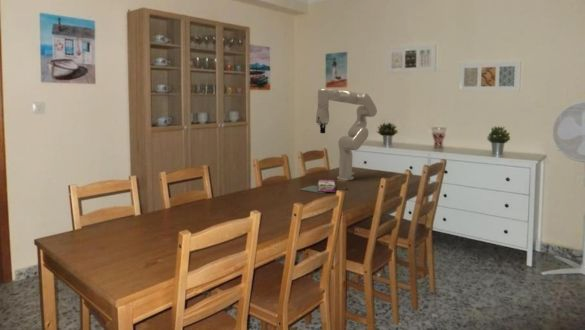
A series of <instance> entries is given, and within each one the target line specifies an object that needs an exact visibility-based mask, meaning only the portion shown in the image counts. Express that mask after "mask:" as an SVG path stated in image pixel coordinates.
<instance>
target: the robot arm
mask: <svg viewBox="0 0 585 330" xmlns="http://www.w3.org/2000/svg"><path fill="white" fill-rule="evenodd" d="M329 101H330V102H331V101H333V102H338V103H345V104H350V105H357V108H356V120H355V122H354V123H353V124H352V126H351V127H350V128H349V129H348V132H347V135H343V136H341V137H340V138H339V139H338V141H337V143H338V150H339V151H338V152H339V157H338V158H339V161H338V162H339V167H338V169H339V170H338V174H339V175H338V176H336V179H337V180H338V179H343V180H347V181H351V180H354V179H355V177H354V176H353V175H355V172H354V171H353V152H352V151H358V150H360V148H361V147H362V145H364V143H365V142H366V140H367V139H368V137H369V129H368V128H367V124H368V122H367V118H369V117H370V118H373V117H375V116H376V115H377V114H378V113H377V112H378V110H377V106H376V104H375V103H374V101H373V98H372V97H371V96H370V95H369V94H368V93H364V92H363V93H361V92H355V91H354V92H353V91H349V90H338V89H337V88H318V90H317V109H316V115H315V117H316V118H315V122H316V124H317V125H318V126H319V128H320V129H319V132H320V134H326V128H327V125H328V123H329V122H330V113H329V112H330V111H329V108H330V107H329V105H330V103H329Z"/></svg>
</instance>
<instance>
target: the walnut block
mask: <svg viewBox="0 0 585 330" xmlns="http://www.w3.org/2000/svg"><path fill="white" fill-rule="evenodd" d="M347 189H348V180H343V179H337V180H335V191H336V190H337V191H338V190H339V191H346V190H347Z"/></svg>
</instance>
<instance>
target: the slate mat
mask: <svg viewBox="0 0 585 330" xmlns="http://www.w3.org/2000/svg"><path fill="white" fill-rule="evenodd" d="M299 191H302V192H303V191H304V192H309V193H314V194H321V195H323V194H326V193H327V192H318V185H309V186H306V187H302V188H299Z"/></svg>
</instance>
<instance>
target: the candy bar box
mask: <svg viewBox="0 0 585 330" xmlns="http://www.w3.org/2000/svg"><path fill="white" fill-rule="evenodd" d="M317 186H318V192H326V193H336V180H335V179H318V180H317Z"/></svg>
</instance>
